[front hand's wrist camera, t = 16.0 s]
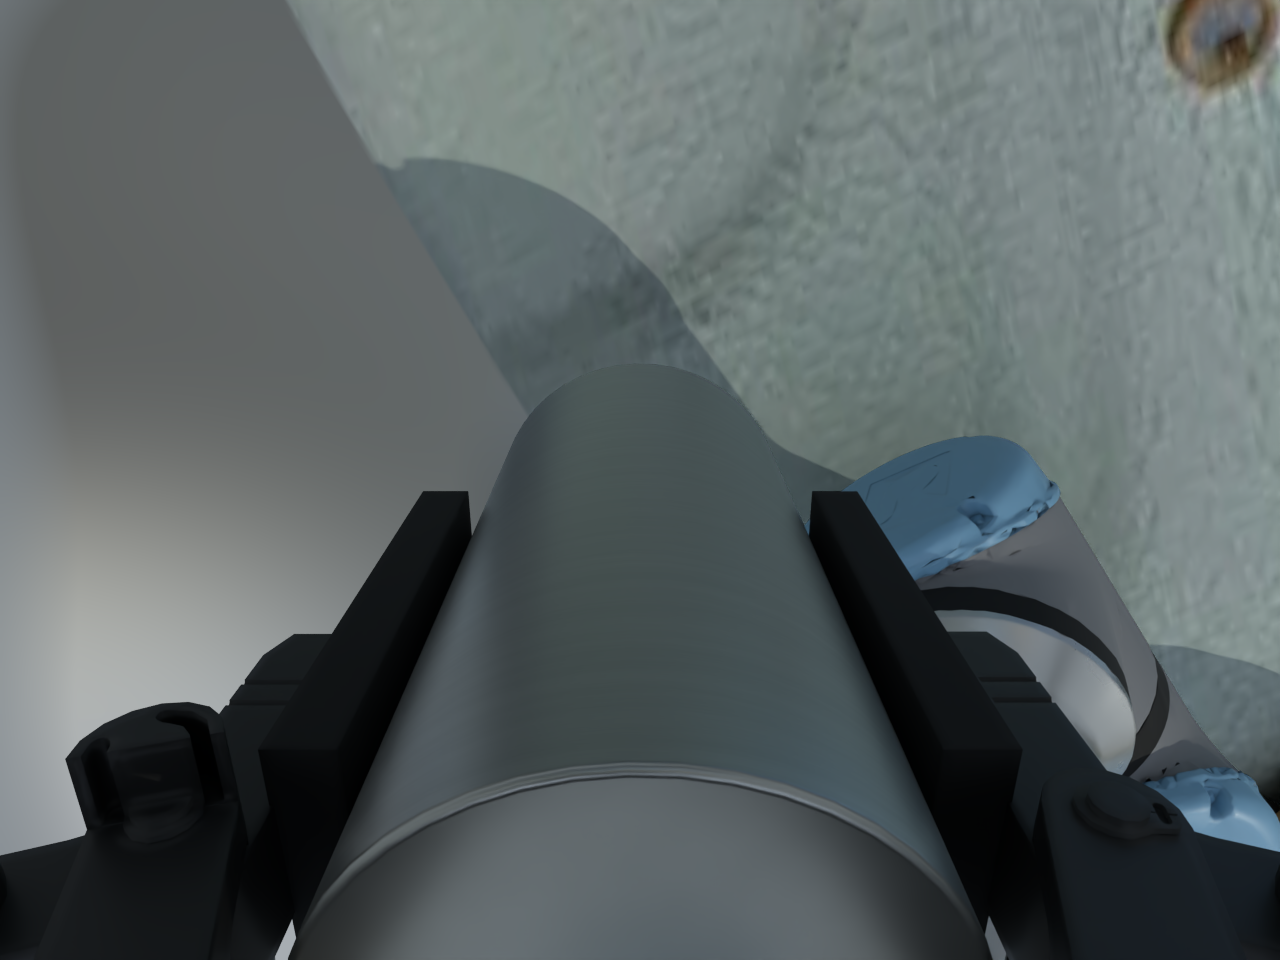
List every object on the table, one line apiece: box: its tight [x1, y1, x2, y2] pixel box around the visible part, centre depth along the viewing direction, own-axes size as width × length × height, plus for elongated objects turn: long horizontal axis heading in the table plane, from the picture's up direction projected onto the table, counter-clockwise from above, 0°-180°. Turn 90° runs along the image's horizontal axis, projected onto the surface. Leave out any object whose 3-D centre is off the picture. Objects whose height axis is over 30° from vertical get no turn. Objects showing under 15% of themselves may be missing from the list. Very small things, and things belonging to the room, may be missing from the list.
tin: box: [288, 364, 993, 960], centre depth 12 cm, size 6×6×12 cm
